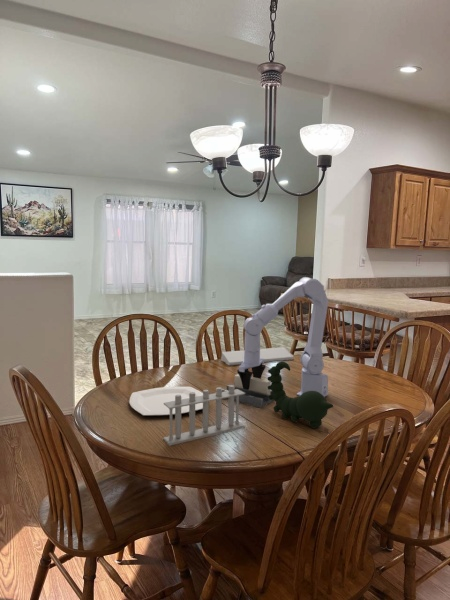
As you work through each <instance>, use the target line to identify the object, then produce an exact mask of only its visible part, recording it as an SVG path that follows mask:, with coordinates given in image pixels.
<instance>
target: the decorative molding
mask: <svg viewBox="0 0 450 600" xmlns="http://www.w3.org/2000/svg"><path fill="white" fill-rule="evenodd" d="M220 357H221V358H220V359H221V361H222V362H224V363H225V364H226V365H227V366H229V367H230V366H238V365H239V366H240V365H241V364H242V361H243V360H244V349H243V350H233V351H232V350H231V351H222V352H221V356H220ZM260 358H263V359H264V363H271V362H284V361H291V360H293V359H294V355H293V354H292V353H290V351H289V350H288V349H287V348H286V347H284V346H281V347H280V346H279V347H269V348H260Z"/></svg>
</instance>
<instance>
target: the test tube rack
mask: <svg viewBox="0 0 450 600" xmlns="http://www.w3.org/2000/svg"><path fill="white" fill-rule="evenodd" d="M228 385H229V391H224V392H222V389H223V388H222V387H216V389H215V393H210V391H209V390H208V389H203V390H202V393H203V396H198V397H195V392H190V394H189V398H187V399H182V400H181V398H182V397H181V395H175V401H171V402H166V403H164V405H165V406H166V407H168V408H169V410H170V415H169V435H168V436H164V437H162V438H163V441H164V442H165V443H166V445H168V446H174V445H179V444H182V443H183V444H184V443H186V442H191V441H195V440H199V439H203V438H206V437H212V436H215V435H220V434H224V433H227V432H231V431H232V432H233V431H236V430H239V429H240V430H241V429H243V428H245V426H246V425H245V424H243V423H242V422H241V421H239V414H240V412H239V410H240V409H239V407H240V405H239V404H240V402H239V395H244V394H245V393H244V392H242V391H240V390H238V389H235V390H234V388H235V387H234V384H228ZM234 396H236V401H234ZM225 398H229V400H228V409H227V411H228V412H227V416H228V417H227V418H228V421H227V422H223V423H222V415H223V414H222V411H223V410H222V408H223V407H222V406H223V405H222V404H223V401H222V400H223V399H224V400H225ZM213 401H215V425H212V426H209V415H210V412H209V411H210V407H209V405H210V404H209V403H210V402H213ZM198 403H203V409H202V428H198V429H196V411H195V404H198ZM188 405H189V413H188V417H189V418H188V429H189V430H188V431H185V432H182V414H181V407H183V406H188ZM173 408H175V415H174V417H175V418H174V434H173V415H172V410H173Z"/></svg>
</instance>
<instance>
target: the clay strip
mask: <svg viewBox="0 0 450 600" xmlns="http://www.w3.org/2000/svg"><path fill="white" fill-rule="evenodd" d="M234 382H235V384H234V383H233V385H234V386H235V387H239V388H243V386H242V382H241V378H240V376H239V374H238V373H237V374H235V375H234ZM268 386H271V381H269V380H268V379H265V378H261V379H260V378H255V377H253V376H251V379H250V387H249V390H252V391H256V392H260V393H264V394H268V395H270V390H268Z"/></svg>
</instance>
